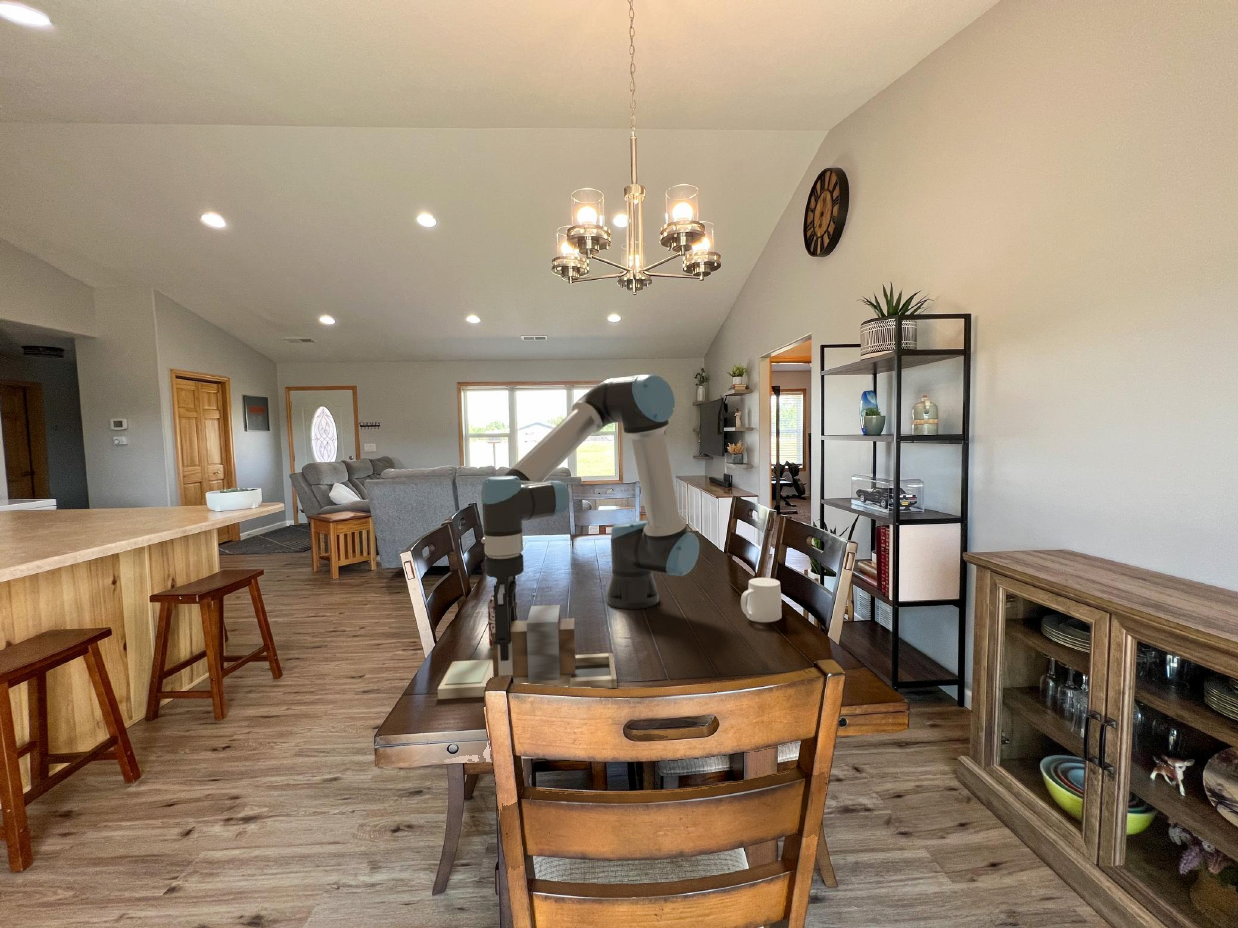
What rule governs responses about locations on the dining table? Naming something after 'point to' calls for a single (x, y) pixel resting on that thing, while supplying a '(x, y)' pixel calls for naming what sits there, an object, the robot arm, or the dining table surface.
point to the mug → (762, 600)
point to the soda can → (493, 617)
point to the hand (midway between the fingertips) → (508, 666)
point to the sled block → (520, 648)
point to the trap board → (533, 663)
